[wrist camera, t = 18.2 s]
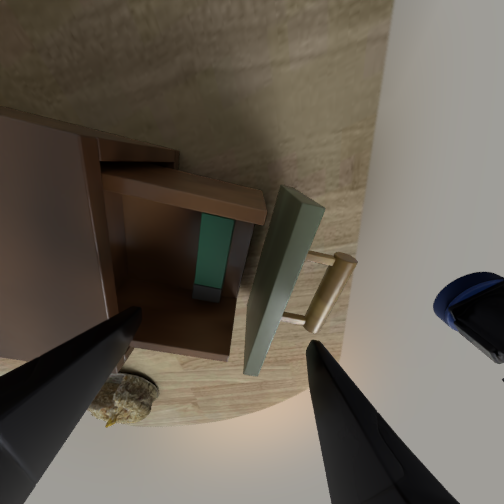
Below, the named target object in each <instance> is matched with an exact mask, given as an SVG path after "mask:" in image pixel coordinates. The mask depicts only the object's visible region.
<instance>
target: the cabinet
mask: <svg viewBox="0 0 504 504" xmlns="http://www.w3.org/2000/svg"><path fill="white" fill-rule="evenodd" d="M100 161H126V162H145V163H150V164H154V165H158V166H162V167H166V168H170V169H174V170H178V167H179V151H178V150H174V149H170V148H166V147H162V146H158V145H154V144H150V143H146V142H142V141H138V140H135V139H131V138H127V137H123V136H119V135H115V134H111V133H107V132H103V131H99V130H95V129H91V128H87V127H83V126H79V125H75V124H71V123H67V122H63V121H59V120H55V119H51V118H47V117H43V116H39V115H35V114H31V113H27V112H23V111H19V110H15V109H11V108H7V107H3V106H0V357H2V358H9V359H16V360H23V361H31V360H33V359H35V358H36V357H40V356H41V355H42V354H44V353H46V352H48V351H50V350H51V349H53V348H55V347H57V346H59V345H61V344H63V343H64V342H66V341H68V340H70V339H72V338H74V337H75V336H77V335H79V334H81V333H83V332H85V331H87V330H88V329H90V328H92V327H94V326H96V325H98V324H100V323H101V322H103V321H105V320H107V319H109V318H111V317H113V316H114V315H116V314H118V313H119V312H118V304H117V296H116V288H115V280H114V272H113V264H112V256H111V248H110V240H109V232H108V224H107V216H106V208H105V200H104V192H103V184H102V176H101V168H100ZM134 348H135V347H129V346H128V348H127V350H126V352H125V354H124V355H123V357H122V358H121V360H120V361H119V363H118V364H117V366H116V367H115V369H114V370H113V372H112V373H113V374H117V373H118V372H119V371H120V369H121V368H122V366H123V365H124V363H125V361H126V360H127V359H128V357H129V355H130V354H131V352H132V351H133V349H134Z"/></svg>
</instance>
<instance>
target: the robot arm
mask: <svg viewBox="0 0 504 504" xmlns="http://www.w3.org/2000/svg"><path fill="white" fill-rule="evenodd" d="M448 311H449V312H450V314H451V316H452V317H453V319H454V320H455V321H454V325H455V327H456V328H457V330H458V331H459V333H460V334H461V335H462V336H464V337H465V338H466V339H467V340H468V341H470V342H471V343H472V344H473V345H475V346H476V347H477V348H478V349H479V350H481V351H482V352H483V353H484V354H485V355H487V356H488V357H489V358H490V359H491V360H493V361H494V362H495V363H498V364H501V363H504V280H503V281H501V282H499V283H497V284H495V285H493V286H491V287H489V288H487V289H485V290H483V291H481V292H479V293H477V294H475V295H473V296H470V297H468V298H466V299H464V300H462V301H460V302H458V303H456V304H454V305H452V306H450V307H449V308H448ZM141 322H142V308H141V307H137V306H131V307H129V308H127V309H125V310H124V311H122V312H120V313H118V314H116V315H114V316H113V317H111V318H109V319H107V320H105V321H103V322H101V323H100V324H98V325H96V326H94V327H92V328H90V329H88V330H87V331H85V332H83V333H81V334H79V335H77V336H75V337H74V338H72V339H70V340H68V341H66V342H64V343H63V344H61V345H59V346H57V347H55V348H53V349H51V350H50V351H48V352H46V353H44V354H42V355H41V356H40V357H36V358H35V359H33V360H31V361H29V362H27V363H25V364H23V365H22V366H20V367H18V368H16V369H14V370H12V371H10V372H8V373H6V374H4V375H2V376H0V504H24V502H25V501H26V499H27V498H28V496H29V495H30V493H31V492H32V490H33V489H34V488H35V486H36V484H37V483H38V481H39V480H40V478H41V477H42V475H43V474H44V472H45V471H46V469H47V468H48V466H49V465H50V463H51V462H52V461H53V459H54V457H55V456H56V454H57V453H58V451H59V450H60V449H61V447H62V446H63V444H64V443H65V441H66V440H67V438H68V437H69V435H70V434H71V432H72V431H73V429H74V428H75V426H76V425H77V423H78V422H79V421H80V419H81V417H82V416H83V415H84V413H85V411H86V410H87V409H88V407H89V406H90V404H91V403H92V401H93V400H94V398H95V397H96V395H97V394H98V392H99V391H100V389H101V388H102V386H103V385H104V383H105V382H106V380H107V379H108V378H109V376H110V375H111V373H112V372H113V370H114V369H115V367H116V366H117V364H118V363H119V361H120V360H121V358H122V357H123V355H124V354H125V352H126V350H127V348H128V346H129V345H130V343H131V341H132V339H133V337H134V335H135V333H136V332H137V330H138V328H139V326H140V324H141ZM306 360H307V370H308V381H309V388H310V393H311V399H312V404H313V408H314V414H315V419H316V425H317V430H318V435H319V440H320V445H321V451H322V456H323V461H324V466H325V472H326V477H327V482H328V487H329V493H330V498H331V503H332V504H460V503H459V502H458V501H457V500H456V499H455V498H454V497H453V496H452V495H451V494H450V493H449V492H448V491H447V490H446V489H445V488H444V487H443V486H442V484H441V483H440V482H439V481H438V480H437V479H436V478H435V477H434V476H433V475H432V474H431V473H430V471H429V470H428V469H427V468H426V467H425V466H424V465H423V463H421V461H420V460H419V459H418V458H417V457H416V456H415V455H414V454H413V453H412V451H411V450H410V449H409V448H408V447H407V446H406V445H405V443H404V442H403V441H402V440H401V439H400V438H399V437H398V436H397V434H396V433H395V432H394V431H393V430H392V428H391V427H390V426H389V425H388V424H387V422H386V421H385V420H384V419H383V418H382V416H381V415H380V414H379V413H378V412H377V410H376V409H375V408H374V407H373V405H372V404H371V403H370V402H369V401H368V399H367V398H366V397H365V396H364V394H363V393H362V392H361V391H360V390H359V388H358V387H357V386H356V385H355V383H354V382H353V381H352V380H351V379H350V377H349V376H348V375H347V374H346V372H345V371H344V370H343V369H342V367H341V366H340V365H339V364H338V363H337V361H336V360H335V359H334V358H333V356H332V355H331V354H330V353H329V352H328V350H327V349H326V348H325V347H324V345H323V344H322V343H321V342H320V341H317V340H311V342H310V344H309V346H308V347H307V349H306ZM502 380H503V381H504V378H503V379H502Z"/></svg>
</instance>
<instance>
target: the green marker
mask: <svg viewBox="0 0 504 504" xmlns="http://www.w3.org/2000/svg"><path fill="white" fill-rule="evenodd" d="M235 221H236V219H231V218H227V217H222V216H218V215H213V214H209V213H205V212H202V215H201V224H200V234H199V243H198V252H197V262H196V271H195V281H194V284H193V292H192V299H198V300H203V301H209V302H214V303H219V302H220V298H221V294H222V290H223V286H224V281H225V276H226V275H225V273H226V268H227V263H228V257H229V252H230V247H231V242H232V237H233V231H234V226H235Z"/></svg>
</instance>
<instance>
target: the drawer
mask: <svg viewBox="0 0 504 504" xmlns="http://www.w3.org/2000/svg"><path fill="white" fill-rule="evenodd" d="M100 168H101V176H102V184H103V192H104V200H105V208H106V216H107V224H108V232H109V240H110V248H111V256H112V264H113V272H114V280H115V288H116V296H117V304H118V312H119V313H120V312H122V311H124V310H125V309H127V308H129V307H131V306H137V307H141V308H142V322H141V324H140V326H139V328H138V330H137V332H136V333H135V335H134V337H133V339H132V341H131V343H130V345H129V347H135V348H141V349H148V350H154V351H160V352H167V353H173V354H179V355H186V356H192V357H199V358H205V359H211V360H218V361H224V362H227V361H228V358H229V354H230V346H231V339H232V331H233V324H234V316H235V309H236V301H237V296H238V292H239V288H240V284H241V279H242V275H243V271H244V267H245V263H246V259H247V255H248V251H249V247H250V243H251V238H252V234H253V230H254V226H255V224H258V225H264V223H265V220H266V216H267V208H266V204H265V200H264V196H263V192H262V191H261V190H257V189H253V188H249V187H245V186H241V185H236V184H232V183H228V182H224V181H220V180H216V179H212V178H208V177H203V176H199V175H195V174H191V173H187V172H183V171H179V170H174V169H170V168H166V167H162V166H158V165H154V164H150V163H145V162H126V161H100ZM202 212H205V213H209V214H213V215H218V216H222V217H227V218H231V219H236V221H235V226H234V231H233V237H232V242H231V247H230V252H229V257H228V263H227V268H226V273H225V275H226V276H225V281H224V286H223V290H222V294H221V298H220V302H219V303H214V302H209V301H203V300H198V299H192V292H193V284H194V281H195V271H196V262H197V252H198V243H199V234H200V224H201V215H202ZM324 212H325V207H323V206H321V205H320V204H318V203H317V202H315V201H314V200H312V199H310V198H309V197H307V196H306V195H304V194H303V193H301V192H299V191H298V190H296V189H295V188H293V187H289V186H285V185H280V189H279V192H278V196H277V200H276V203H275V207H274V210H273V214H272V217H271V221H270V225H269V228H268V232H267V235H266V239H265V242H264V246H263V249H262V253H261V257H260V260H259V264H258V267H257V271H256V274H255V278H254V282H253V285H252V289H251V292H250V296H249V299H248V303H247V315H246V333H245V351H244V369H243V374H245V375H251V376H258V375H259V372H260V370H261V367H262V365H263V362H264V360H265V357H266V355H267V352H268V350H269V347H270V345H271V342H272V340H273V338H274V335H275V333H276V330H277V328H278V325H279V323H280V321H283V322H288V323H294V324H299V325H303V327H304V328H305V329H306V330H307V331H309V332H311V333H318V332H320V330H321V328H322V326H323V325H324V323H325V321H326V319H327V317H328V316H329V314H330V312H331V310H332V308H333V307H334V305H335V303H336V301H337V299H338V297H339V296H340V294H341V292H342V290H343V288H344V287H345V285H346V283H347V281H348V279H349V278H350V276H351V274H352V272H353V270H354V269H355V267H356V265H357V263H358V261H357V260H356V259H355V258H353V257H352V256H350V255H348V254H345V253H341V252H336V253H335V254H334V256H332V255H328V254H323V253H318V252H314V251H309V249H310V246H311V244H312V241H313V239H314V236H315V234H316V231H317V229H318V226H319V224H320V221H321V219H322V216H323V214H324ZM305 260H307V261H311V262H316V263H321V264H325V265H329V266H328V268H327V270H326V272H325V274H324V277H323V279H322V281H321V283H320V285H319V287H318V289H317V291H316V293H315V295H314V297H313V300H312V302H311V304H310V306H309V308H308V310H307V312H306V314H305V316H303V315H298V314H293V313H287V312H284V310H285V308H286V305H287V303H288V300H289V298H290V296H291V293H292V291H293V288H294V286H295V283H296V281H297V278H298V276H299V273H300V271H301V268H302V266H303V263H304V261H305Z"/></svg>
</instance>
